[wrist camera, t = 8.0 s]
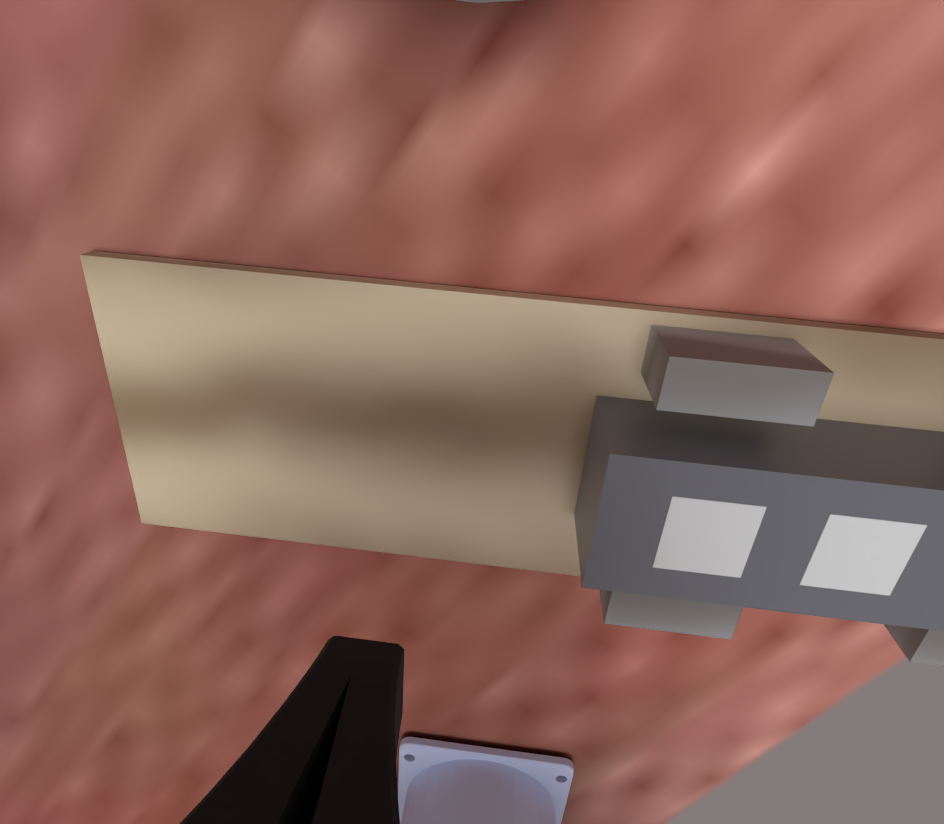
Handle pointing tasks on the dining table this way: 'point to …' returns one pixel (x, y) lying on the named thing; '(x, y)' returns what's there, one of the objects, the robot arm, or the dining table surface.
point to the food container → (486, 0)
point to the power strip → (764, 513)
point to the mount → (449, 407)
